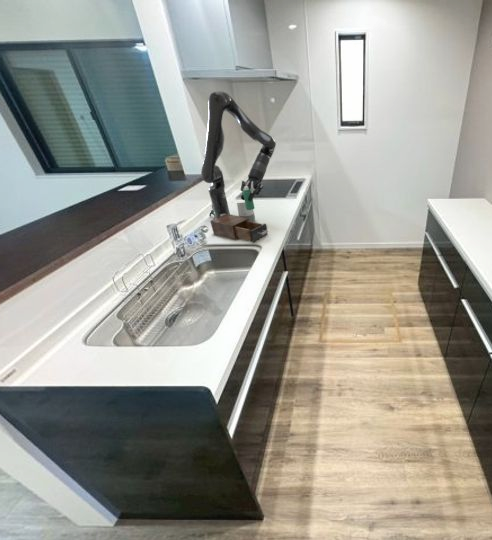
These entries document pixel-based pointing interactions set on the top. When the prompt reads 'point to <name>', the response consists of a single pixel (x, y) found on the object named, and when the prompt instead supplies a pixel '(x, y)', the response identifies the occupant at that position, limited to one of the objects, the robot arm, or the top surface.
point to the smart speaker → (245, 212)
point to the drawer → (251, 231)
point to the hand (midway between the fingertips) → (245, 199)
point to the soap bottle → (248, 203)
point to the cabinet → (227, 225)
